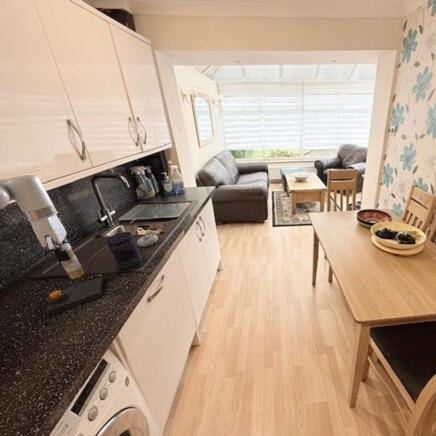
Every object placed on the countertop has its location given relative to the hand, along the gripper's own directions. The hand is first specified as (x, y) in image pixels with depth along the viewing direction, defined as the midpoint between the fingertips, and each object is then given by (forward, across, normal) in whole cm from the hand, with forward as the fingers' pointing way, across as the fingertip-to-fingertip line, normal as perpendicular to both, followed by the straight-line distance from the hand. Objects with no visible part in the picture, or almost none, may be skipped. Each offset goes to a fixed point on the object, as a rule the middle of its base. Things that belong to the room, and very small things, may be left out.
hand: (66, 256), depth 88 cm
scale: (+18, 0, -3) cm, 18 cm away
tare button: (+14, 0, -8) cm, 17 cm away
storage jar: (+18, -12, +15) cm, 26 cm away
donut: (+18, -30, +23) cm, 42 cm away
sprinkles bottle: (+9, 0, 0) cm, 9 cm away
